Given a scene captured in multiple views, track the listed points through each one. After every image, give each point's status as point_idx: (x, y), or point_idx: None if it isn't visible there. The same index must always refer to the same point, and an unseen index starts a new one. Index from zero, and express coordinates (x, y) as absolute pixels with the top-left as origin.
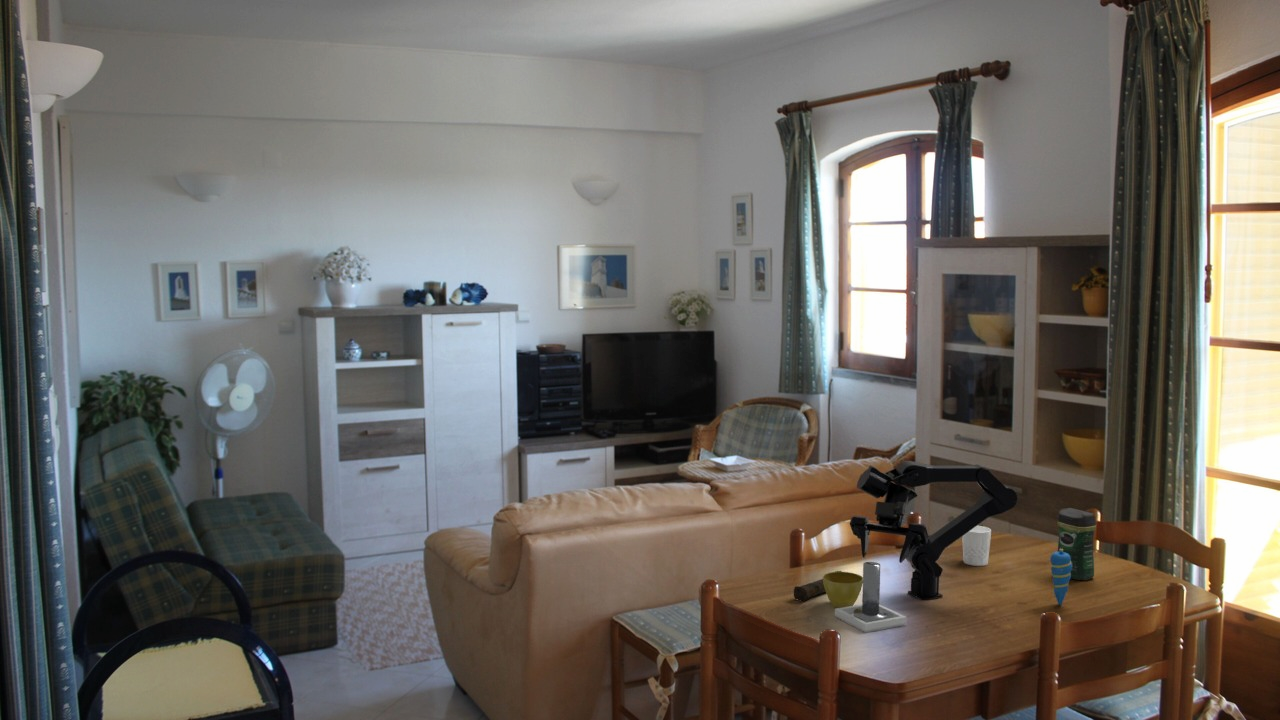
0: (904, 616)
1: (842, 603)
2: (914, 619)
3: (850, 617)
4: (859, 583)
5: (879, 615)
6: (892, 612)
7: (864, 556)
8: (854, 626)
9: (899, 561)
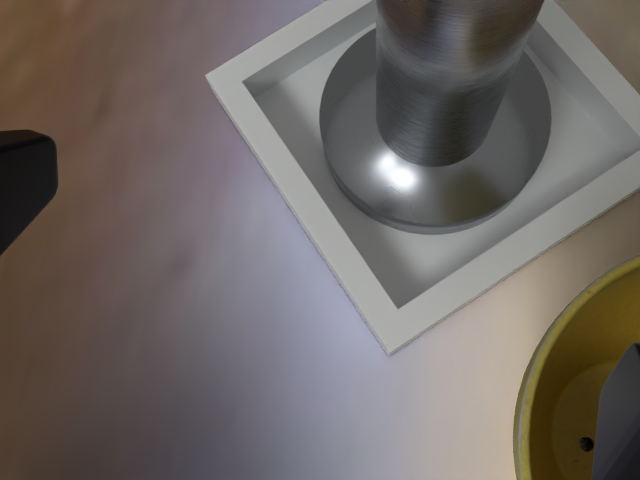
0: (215, 85)
1: (638, 333)
2: (149, 210)
3: (568, 19)
4: (554, 321)
5: (375, 74)
6: (282, 143)
7: (609, 383)
8: None
9: (56, 151)
